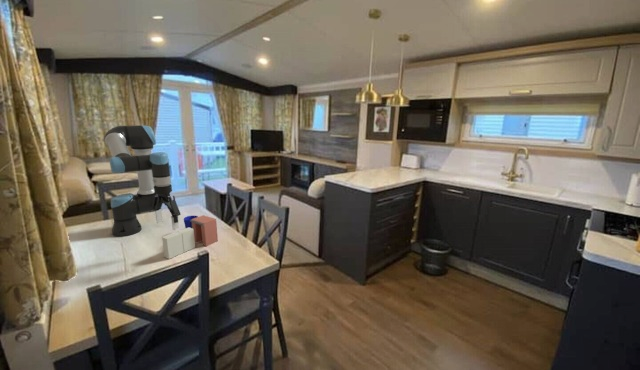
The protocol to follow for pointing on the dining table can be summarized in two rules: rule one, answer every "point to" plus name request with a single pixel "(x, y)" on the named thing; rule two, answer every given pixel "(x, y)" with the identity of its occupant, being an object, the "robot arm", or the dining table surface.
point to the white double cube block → (178, 242)
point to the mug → (187, 221)
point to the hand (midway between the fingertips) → (167, 225)
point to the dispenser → (205, 230)
